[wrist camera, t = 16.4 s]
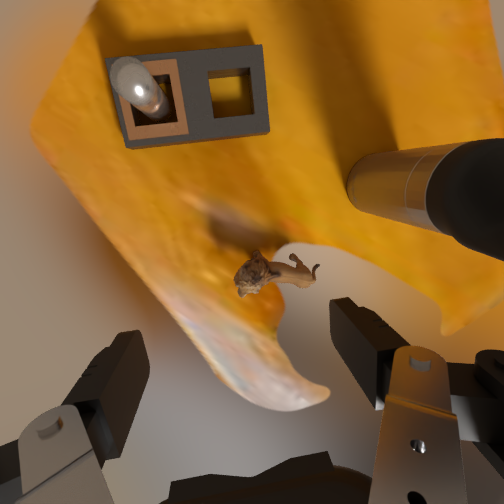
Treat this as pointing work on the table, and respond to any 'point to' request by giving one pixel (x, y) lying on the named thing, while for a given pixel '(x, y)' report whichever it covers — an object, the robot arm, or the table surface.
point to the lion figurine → (271, 274)
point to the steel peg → (140, 88)
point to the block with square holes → (197, 97)
